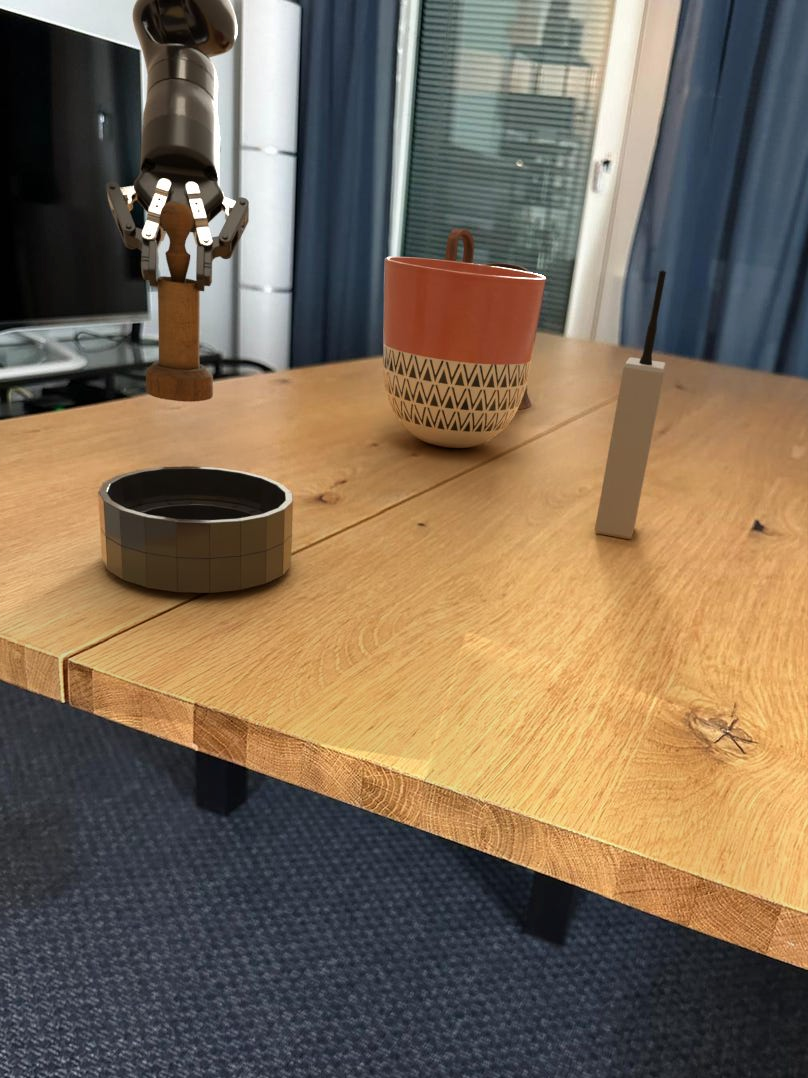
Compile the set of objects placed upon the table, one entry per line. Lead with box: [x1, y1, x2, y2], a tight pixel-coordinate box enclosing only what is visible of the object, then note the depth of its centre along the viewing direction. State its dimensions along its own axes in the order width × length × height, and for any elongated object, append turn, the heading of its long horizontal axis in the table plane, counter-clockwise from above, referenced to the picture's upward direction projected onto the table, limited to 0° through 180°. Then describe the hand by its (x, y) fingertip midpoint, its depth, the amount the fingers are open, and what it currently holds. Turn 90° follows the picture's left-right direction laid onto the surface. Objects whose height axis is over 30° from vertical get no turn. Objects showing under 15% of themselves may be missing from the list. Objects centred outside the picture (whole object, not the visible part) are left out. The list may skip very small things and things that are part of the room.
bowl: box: [97, 465, 294, 594], centre depth 72 cm, size 14×14×6 cm
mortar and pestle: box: [145, 201, 214, 403], centre depth 91 cm, size 7×6×18 cm
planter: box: [382, 256, 547, 449], centre depth 116 cm, size 20×20×21 cm
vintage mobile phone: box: [594, 269, 667, 540], centre depth 89 cm, size 4×5×25 cm
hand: (177, 282), depth 88 cm, fingers closed on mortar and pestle, 3 cm apart
